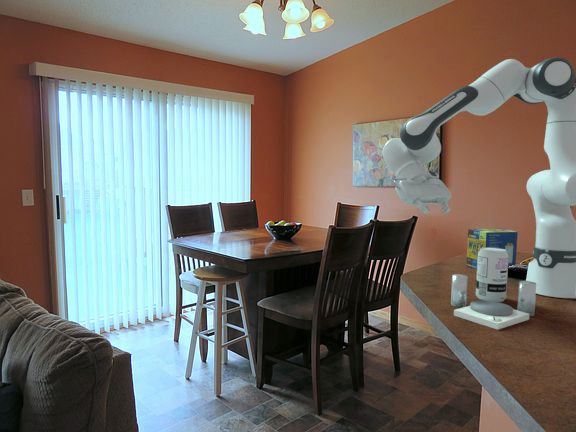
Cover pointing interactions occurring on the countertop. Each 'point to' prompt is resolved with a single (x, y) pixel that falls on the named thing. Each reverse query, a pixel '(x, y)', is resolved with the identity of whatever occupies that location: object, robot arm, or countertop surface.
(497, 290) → the supplement can
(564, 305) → the countertop surface
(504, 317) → the scale
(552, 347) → the countertop surface
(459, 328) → the countertop surface
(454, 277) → the glossy grey rounded cylinder
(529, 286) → the cylinder
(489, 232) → the protein box
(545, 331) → the countertop surface
